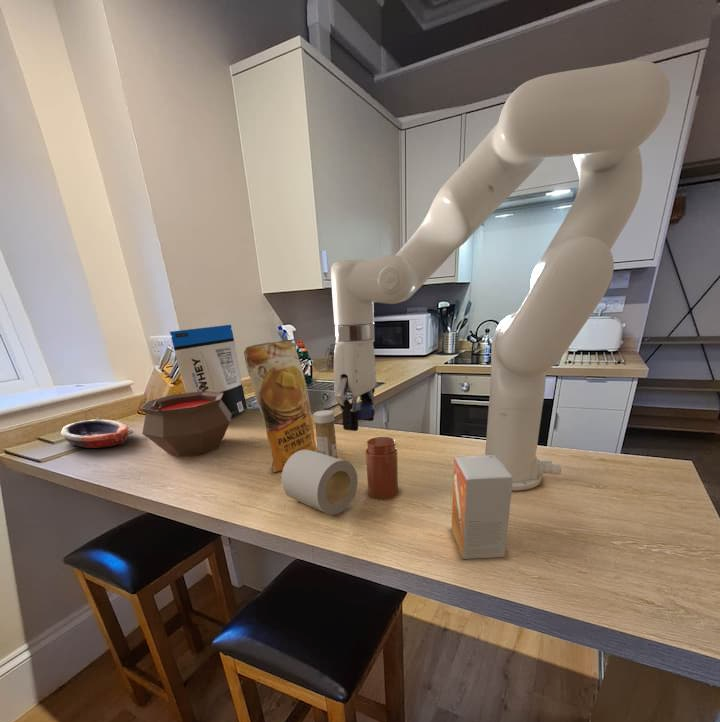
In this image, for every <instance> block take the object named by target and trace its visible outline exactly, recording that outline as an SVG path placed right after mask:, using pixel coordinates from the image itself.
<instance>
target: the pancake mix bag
mask: <svg viewBox="0 0 720 722" xmlns="http://www.w3.org/2000/svg"><path fill="white" fill-rule="evenodd" d="M243 355H244V361H245V366H246V370H247V372H248V376H249V378H250V382H251V384H252V388H253V393H254V397H255V401H256V403H257V406H258V409H259V410H260V413H261V415H262V418H263V421H264V425H265V430H266V435H267V440H268V443H269V445H270V450H271V455H272V456H271V457H272V464H271V465H272V466H271V467H272V472H273V473H277V472H281V471H283V468H284V466H285V464H286V462H287V460H288V459H289V458H290V457H291V456H292V455H293V454H294V453H296V452H298V451H300V450H311V451H314V452H317V444H316V440H315V431H314V424H313V423H314V422H313V419H312V418H313V417H312V410H311V404H310V397H309V392H308V387H307V382H306V378H305V374H304V370H303V367H302V363H301V361H300V357H299V353H298V350H297V347H296V343H295V342H293V340H292V339H285V340H280V341H274V342H264V343H258V344H254V345H250V346H247V347H245V349H244V351H243Z"/></svg>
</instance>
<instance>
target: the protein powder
mask: <svg viewBox="0 0 720 722" xmlns="http://www.w3.org/2000/svg"><path fill="white" fill-rule="evenodd" d="M169 333H170V336H171V337H170V338H171V343H172V346H173V350H174V354H175V358H176V362H177V365H178V369H179V374H180V377H181V381H182V384H183V388H184V393H191V392H201V390H200V389H199V388H198V386H199V385H200V383H201V382H202V383H203V384H204V385H205V386H207V389H206V390H205V391H209V392H220V393H223V396H222V398H221V400H222V401H223V403H224V404H225V406H226V407H227V408H228V410H229V411H230V413H231V414H232V416H231V419H234V418H235V417H239V416H240V415H241V414H243V413H244V412H245V411H246V410H248V407H247V401H246V397H245V393H244V392H245V391H244V386H243V382H242V377H241V371H240V365H239V360H238V354H237V349H236V343H235V338H234V332H233V329H232V324H223V325H216V326H215V325H214V326H208V327H207V326H206V327H198V328H191V329H190V328H189V329H182V330H181V329H180V330H173V331H169ZM201 388H202V389H204V387H203V386H201Z"/></svg>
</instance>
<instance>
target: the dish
mask: <svg viewBox="0 0 720 722" xmlns="http://www.w3.org/2000/svg"><path fill="white" fill-rule="evenodd" d="M60 434H61V436H62V437H63V438H64V439H65V440H66V441H67V442H68V443H70V444H71V445H73V446H77V447H81V448H84V449H85V448H86V449H99V448H109V447H114V446H118V445H121V444H123V443H125V442H126V440H127V438H128V434H129V426H128V425H126V424H125V423H124V422H120V421H118V420H117V421H116V420H112V419H111V420H109V419H102V418H100V417H96V419H89V420H88V419H86V420H79V421H76V422H75V421H74V422H72V423H69V424H67V425H65V426H63V427H62V428H61V430H60Z"/></svg>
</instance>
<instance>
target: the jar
mask: <svg viewBox="0 0 720 722" xmlns="http://www.w3.org/2000/svg"><path fill="white" fill-rule="evenodd" d="M396 445H397V444H396V440H395V439H394V438H393V437H388V436H376V437H372V438H369V439H368V440H367V441H366V446H367V447H366V450H365V464H366V477H367V479H366V480H367V494H368V496H369V497H370V498H373V499H375V500H376V499H377V500H389V499H393V498H395V497H396V496H397V495H398V494H399V468H398V467H399V464H398V449H397V447H396Z"/></svg>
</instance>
